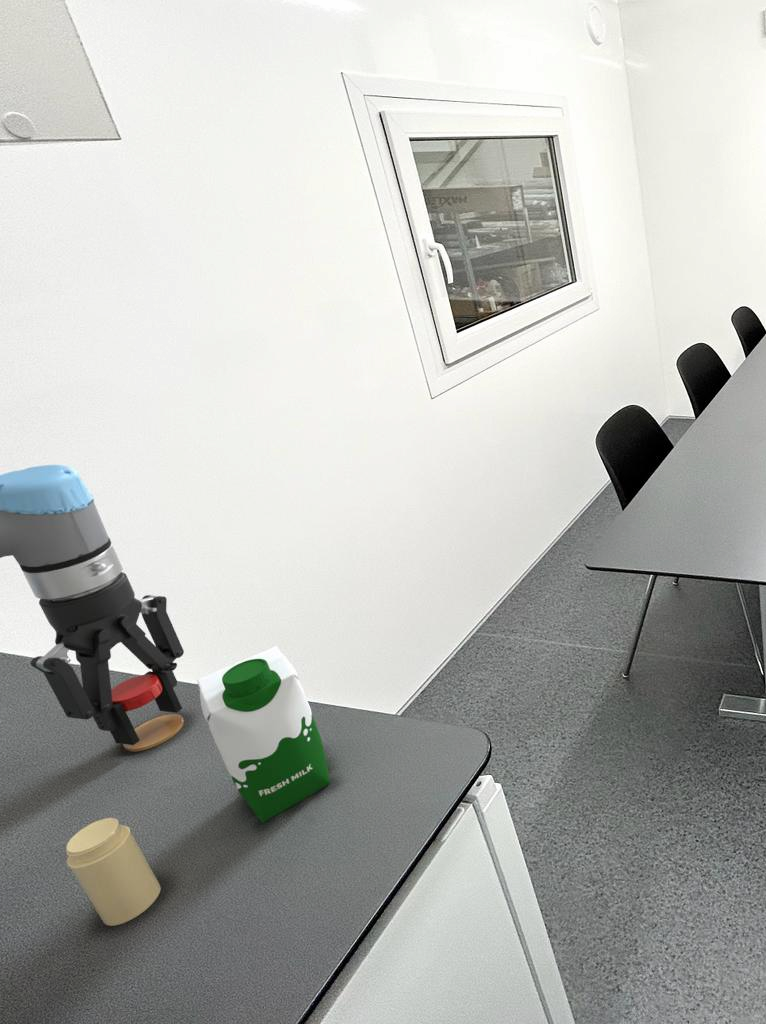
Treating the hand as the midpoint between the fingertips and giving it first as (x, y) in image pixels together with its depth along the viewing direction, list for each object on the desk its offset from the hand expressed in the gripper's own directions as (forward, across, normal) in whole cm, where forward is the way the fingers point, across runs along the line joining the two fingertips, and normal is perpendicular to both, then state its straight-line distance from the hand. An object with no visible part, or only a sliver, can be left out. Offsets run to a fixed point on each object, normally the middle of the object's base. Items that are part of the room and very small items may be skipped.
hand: (150, 725), depth 86 cm
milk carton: (+2, -5, -26) cm, 26 cm away
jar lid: (-6, 0, 0) cm, 6 cm away
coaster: (+2, 0, 0) cm, 2 cm away
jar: (+2, -20, -21) cm, 29 cm away
